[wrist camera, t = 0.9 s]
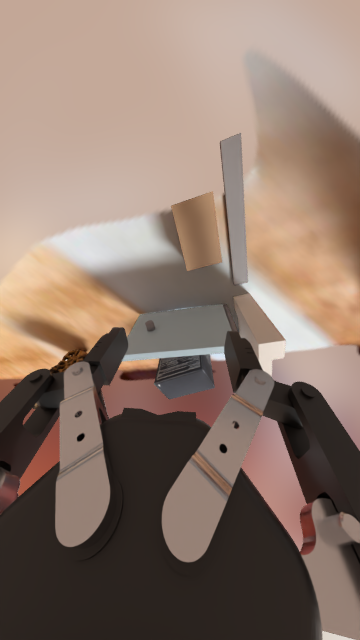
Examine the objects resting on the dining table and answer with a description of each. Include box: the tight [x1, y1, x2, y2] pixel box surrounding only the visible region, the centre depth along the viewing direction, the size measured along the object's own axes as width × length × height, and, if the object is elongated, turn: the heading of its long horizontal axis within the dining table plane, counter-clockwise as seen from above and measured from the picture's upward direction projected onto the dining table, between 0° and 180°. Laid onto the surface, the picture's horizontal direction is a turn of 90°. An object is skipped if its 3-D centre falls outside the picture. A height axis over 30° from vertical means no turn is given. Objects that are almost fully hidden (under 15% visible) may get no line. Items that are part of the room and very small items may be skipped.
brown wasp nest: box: [33, 350, 88, 409], centre depth 35 cm, size 11×4×15 cm, turn 108°
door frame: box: [220, 133, 286, 377], centre depth 22 cm, size 3×32×14 cm, turn 16°
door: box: [122, 304, 238, 361], centre depth 27 cm, size 3×18×12 cm, turn 100°
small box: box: [154, 354, 214, 399], centre depth 35 cm, size 11×6×10 cm, turn 118°
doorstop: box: [171, 192, 222, 271], centre depth 23 cm, size 5×8×6 cm, turn 15°
